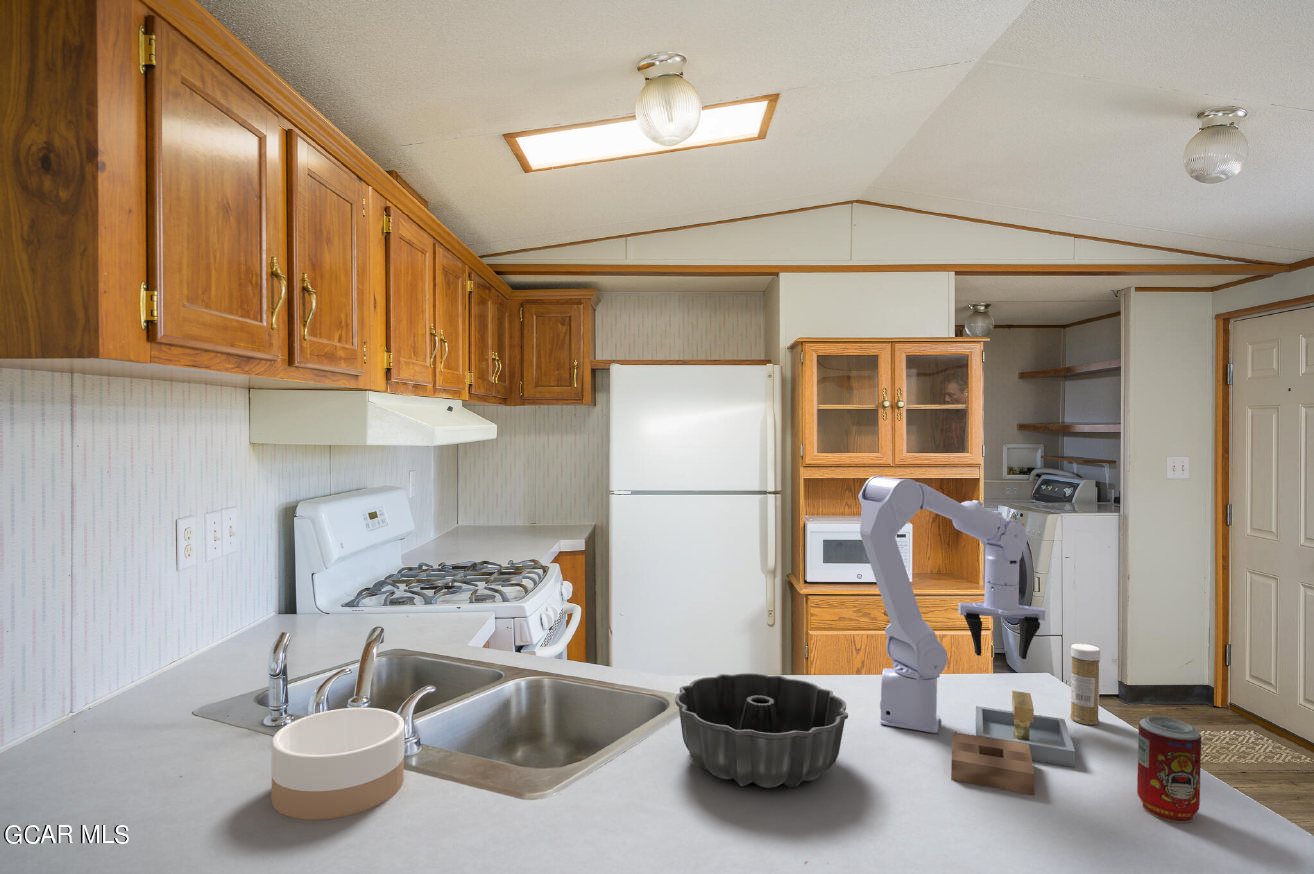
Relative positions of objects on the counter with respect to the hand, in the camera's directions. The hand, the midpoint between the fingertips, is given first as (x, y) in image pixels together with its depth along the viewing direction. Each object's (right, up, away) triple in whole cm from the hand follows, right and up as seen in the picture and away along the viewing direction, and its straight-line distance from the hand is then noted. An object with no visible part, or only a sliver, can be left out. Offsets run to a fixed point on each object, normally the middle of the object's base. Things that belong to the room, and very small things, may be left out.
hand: (1000, 655), depth 136 cm
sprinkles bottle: (+14, -11, -4) cm, 18 cm away
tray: (-2, -11, -13) cm, 17 cm away
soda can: (+7, -11, -35) cm, 38 cm away
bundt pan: (-48, -10, -22) cm, 54 cm away
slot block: (-13, -11, -24) cm, 29 cm away
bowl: (-108, -10, -32) cm, 113 cm away
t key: (-2, -10, -13) cm, 17 cm away
